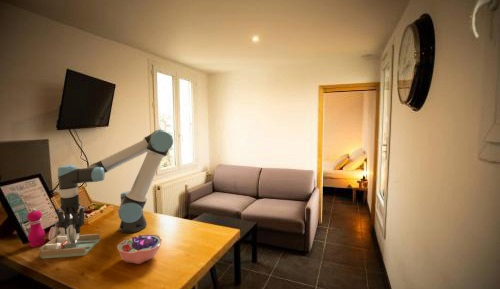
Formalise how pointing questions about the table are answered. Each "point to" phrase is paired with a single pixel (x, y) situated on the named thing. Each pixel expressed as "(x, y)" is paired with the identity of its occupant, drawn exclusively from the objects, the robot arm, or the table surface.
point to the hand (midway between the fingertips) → (73, 239)
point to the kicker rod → (70, 243)
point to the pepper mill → (35, 229)
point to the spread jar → (57, 230)
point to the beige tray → (85, 246)
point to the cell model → (139, 248)
